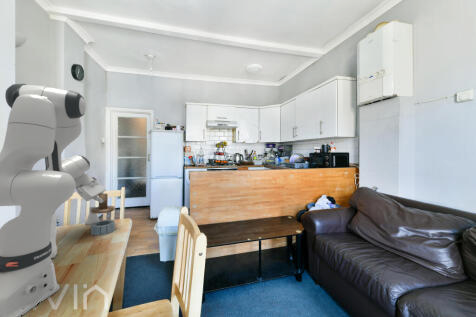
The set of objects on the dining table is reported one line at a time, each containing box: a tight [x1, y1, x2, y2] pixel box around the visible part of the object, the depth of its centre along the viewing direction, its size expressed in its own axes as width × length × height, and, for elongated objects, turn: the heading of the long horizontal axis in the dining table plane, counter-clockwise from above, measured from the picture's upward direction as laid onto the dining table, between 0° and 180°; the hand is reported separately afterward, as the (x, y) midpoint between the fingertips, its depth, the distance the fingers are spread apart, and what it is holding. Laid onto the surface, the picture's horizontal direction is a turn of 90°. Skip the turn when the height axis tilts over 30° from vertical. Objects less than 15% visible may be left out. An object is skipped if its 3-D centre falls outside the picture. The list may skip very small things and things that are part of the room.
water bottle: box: [50, 212, 58, 259], centre depth 82 cm, size 7×7×25 cm
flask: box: [85, 206, 101, 226], centre depth 124 cm, size 7×7×10 cm
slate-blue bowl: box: [90, 219, 116, 236], centre depth 112 cm, size 11×11×4 cm
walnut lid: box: [91, 193, 116, 215], centre depth 112 cm, size 11×11×9 cm
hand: (104, 200), depth 112 cm, fingers closed on walnut lid, 4 cm apart
